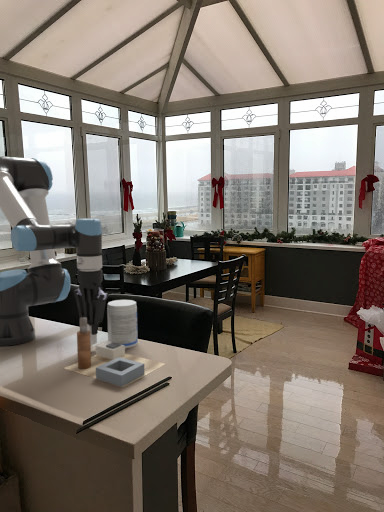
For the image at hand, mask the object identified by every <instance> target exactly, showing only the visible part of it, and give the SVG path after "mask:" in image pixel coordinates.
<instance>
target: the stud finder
mask: <svg viewBox="0 0 384 512" xmlns="http://www.w3.org/2000/svg"><path fill="white" fill-rule="evenodd" d="M95 353H96V354H95V355H97V356H100V357H104V358H108V359H111V360H114V359H116V358H118V357H121V356H124V355H125V353H126V348H125V345H121V344H118V343H114V342H109V341H108V340H107V341H105V342H102V343H99V344H97V345H95Z"/></svg>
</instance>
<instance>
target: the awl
mask: <svg viewBox="0 0 384 512" xmlns="http://www.w3.org/2000/svg"><path fill="white" fill-rule="evenodd" d="M78 319H79V330H78V331H76V343H77V347H76V349H77V350H76V351H77V362H78V368H79V369H88V368H90V367H91V357H92V351H91V350H92V347H91V346H92V345H91V341H90V331H88V330H87V318H86V317H82V318H80V317H79V318H78Z"/></svg>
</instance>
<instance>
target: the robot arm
mask: <svg viewBox="0 0 384 512" xmlns="http://www.w3.org/2000/svg"><path fill="white" fill-rule="evenodd" d="M53 179H54V178H53V173H52V170H51V168H50V166H49V164H48V163H47V162H46V161H45V160H42V159H36V158H33V157H32V158H26V157H15V156H13V157H11V156H0V210H1V212H2V213H3V215H4V217H5V219H6V220H7V222H8V224H9V225H10V227H11V228H12V229H11V231H10V242H11V246H12V248H13V249H14V250H15V251H17V252H29V258H30V265H29V266H28V267H27V270H25V269H21V268H19V269H10V270H5V271H2V272H0V347H5V346H16V345H21V344H25V343H27V342H30V341H32V340H33V339H34V338H35V337H36V332H35V328H34V325H33V323H32V321H31V318H30V316H29V307H33V306H38V305H46V304H49V303H51V304H52V303H53V304H54V303H56V302H61V301H64V300H65V299H67V297H68V295H69V293H70V290H71V276H70V273H69V271H68V270H67V269H66V268H62V266H63V265H62V263H61V262H59V261H58V260H57V258H56V253H55V250H58V249H59V250H60V249H71V248H73V249H76V250H75V251H76V268H77V269H78V270H77V271H76V278H77V283H79V285H78V287H77V289H74V290H73V291H72V292H73V296H74V297H75V301H76V306H77V311H78V316H79V318H82V317H86V318H87V330H88V331H90V341H91V346H93V345H96V344H98V343H97V342H98V341H97V339H98V337H97V335H98V324H100V323H103V322H104V316H105V315H104V314H105V308H106V302H107V299H108V297H109V293H108V292H105V291H103V287H102V282H103V278H104V277H103V269H102V268H103V255H102V254H103V253H102V252H103V250H102V249H103V248H102V247H103V242H102V241H103V239H102V238H103V237H102V233H103V231H102V223H101V220H100V219H99V218H77V219H76V220H75V223H61V224H51V222H50V218H49V217H50V216H49V212H48V205H47V199H46V198H47V196H48V195H49V191H50V190H51V189H52V187H53Z"/></svg>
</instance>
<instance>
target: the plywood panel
mask: <svg viewBox="0 0 384 512" xmlns="http://www.w3.org/2000/svg"><path fill="white" fill-rule="evenodd" d="M121 358H125V359H129V360H132V361H136V362H140V363H143V364H144V375H143V376H141V377H139V378H137V379H135V380H134V381H132V382H130V383H128V384H126V385H124V386H123V387H121V386H119V387H120V388H125V387H127V386H129V385H131V384H132V383H134V382H136V381H138V380H140V379H142V378H143V377H145V376H147V375H149V374H150V373H152V372H154V371H156V370H158V369H159V368H161V367H163V366H165V365H166V363H164V362H161V361H160V362H159V361H156V360H151V359H148V358H144V357H140V356H137V355H133V354H130V353H126V352H125V355H124V356H121ZM109 361H111V359H108V358H104V357H100V356H97V355H96V354H94V355H91V367H90V368H88V369H79V368H78V361H77V362H75V363H72V364H71V365H67V366H65V367H63V369H64V370H67V371H69V372H70V371H71V372H73V373H78V374H80V375H83V376H87V377H88V378H92V379H95V380H99V379H96V367H98V366H101V365H103V364H105V363H107V362H109ZM99 381H102V380H99ZM102 382H105V381H102ZM105 383H106V382H105Z"/></svg>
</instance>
